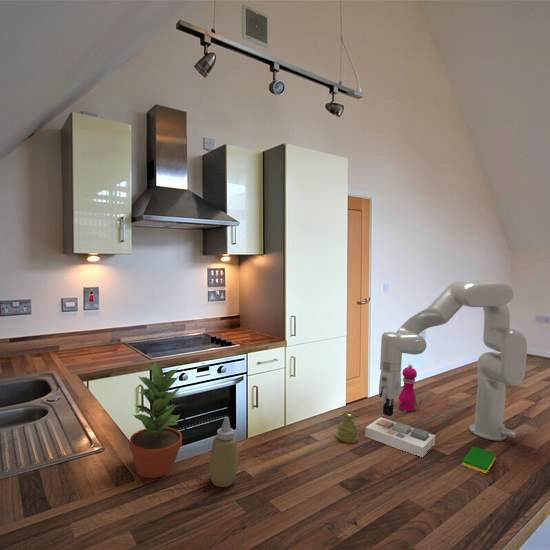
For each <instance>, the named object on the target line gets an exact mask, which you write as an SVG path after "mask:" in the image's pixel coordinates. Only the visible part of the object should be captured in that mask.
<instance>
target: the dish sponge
mask: <svg viewBox="0 0 550 550" xmlns="http://www.w3.org/2000/svg"><path fill="white" fill-rule="evenodd" d="M496 455H497V453H494V452H491V451H488V450H486V449H482V448H479V447H476V446H472V447H471V448H470V450H469V451H468V452H467V454H466V455H465V456H464V458H463V459H462V463H461V466H462V465H464V466H467V467H469V468H472V469H474V470H477V471H481V472H483V473H487V472H488V473H489V471H490V470H489V469H491V468H490V467H492V466H493V464H494V463H495V461H496V458H497V457H496ZM494 460H495V461H494ZM493 462H494V463H493ZM474 470H473V471H474ZM488 470H489V471H488ZM488 473H487V474H488Z"/></svg>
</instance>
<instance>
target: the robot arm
mask: <svg viewBox="0 0 550 550" xmlns="http://www.w3.org/2000/svg"><path fill="white" fill-rule="evenodd" d="M513 297H514V291H513V288H512V286H511V285H510V284H508V283H507V282H504V281H503V282H502V281H495V280H488V279H487V280H486V279H485V280H484V279H478V280H475V281H473V282H467V281H466V282H464V281H454V282H452V283H450V284H449V285H448V286H447V287H446V288H445V289H444V290H443V291H442V292H441V293H440V294H439V296H438V297H436V299H435V300H434V301H433V302H432V303H431V304H430V305H428V307H427V308H424V309H423V310H421V311H419V312H417V313H416V314H413V316H410V317H409V318H408V319H407V320H406V321H405V322H404V323H403V324H402V325H401V326H400V327H399V328H398V329H397V331H396V332H395V331H385V332H383V333H382V335H381V338H380V341H381V342H380V362H379V369H380V376H379V383H378V396H379V397H380V398H381V403H382V404H383V409H382V410H383V411H382V414H383V415H384V416H388V417H392V416H393V415H394V404H395V399H396V398H398V397H399V395H400V393H401V391H402V373H401V372H402V360H403V359H402V358H403V354H407V355H413V356H416V355H421V354H423V353H424V352H425V351H426V349H427V342H426V338H424V337H423V336H422V335H420V334H421V333H422V332H423V331H425V330H428V329H429V328H433V327H438V326H442V325H445V324H447V323H448V322H449V321H450V320H451V319H452V318H453V317H454V315H456V314H457V313H458V312H459V310H461V309H462V308H463V306H465V307H469V308H482V309H483V312H484V318H483V319H484V320H483V336H482V338H483V339H482V340H483V343H484V345H485V347H487V348H489V349H491V350H493V351H496V352H492V351H488V352H487V351H486V352H484V353H482V354H480V356H479V357H478V359H477V362H476V363H477V365H476V366H477V368H476V369H477V376H478V377H477V392H476V400H475V402H476V405H475V415H474V423H472V424H469V431H470V432H471V433H472V434H474V435H475V436H477V437H480V438H482V439H486V440H489V441H490V440H491V441H497V442H498V441H499V442H500V441H505V440H506V439H507V436H508V437H510V438H513V439H515V437H516V432H514V431H513V430H512V429H508V428H506V427H505V423H504V414H505V413H504V412H505V404H506V397H507V395H506V393H507V391H506V390H507V389H506V385H507V386H510V387H511V386H514V387H515V386H517V385H519V384H521V383H522V382H523V380H524V378H525V375H526V367H527V356H528V353H527V352H528V343H527V338H526V337H525V335H524V334H523V333H522V332H521V331H519V330H517V329H513V328H511V327H510V326H511V325H510V320H511V316H510V307H509V305H508V304H509V303H510V302H511V301H512V300H513Z"/></svg>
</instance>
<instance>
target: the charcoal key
mask: <svg viewBox="0 0 550 550" xmlns="http://www.w3.org/2000/svg"><path fill="white" fill-rule="evenodd" d="M414 428H415V429H414V430H412V431H411V437H414V438H417V439H420V440H423V441H425V440H427V439H428V435H429V433H430V431H427V430H423V429H421V428H418V427H414Z"/></svg>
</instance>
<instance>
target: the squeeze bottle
mask: <svg viewBox="0 0 550 550" xmlns="http://www.w3.org/2000/svg"><path fill="white" fill-rule="evenodd" d="M237 439H238V438H236V437H235V430H234V429H233V428H232V427H231V423H230V417H229V416H224V418H223V422H222V425H221V427H219V428H218V429H217V431H216V436H214V438H213V439H212V445H211V450H210V451H211V452H210V458H209V463H208V473H209V477H210V480H211V483H212V484H213V486H215V487H218V488H227V487H229V486H231V485H233V483H234V480H235V478H236V475H237V473H238V470H239V463H238V461H239V460H238V459H239V457H238V440H237Z"/></svg>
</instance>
